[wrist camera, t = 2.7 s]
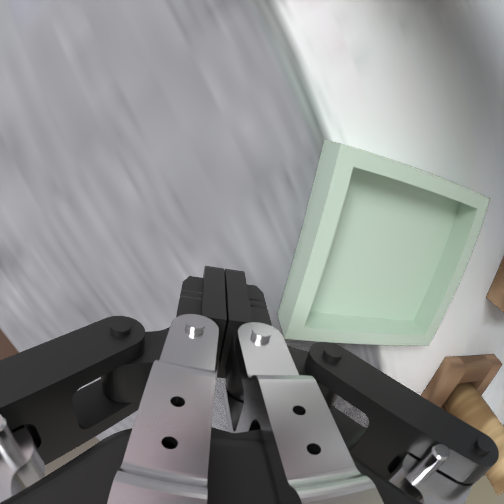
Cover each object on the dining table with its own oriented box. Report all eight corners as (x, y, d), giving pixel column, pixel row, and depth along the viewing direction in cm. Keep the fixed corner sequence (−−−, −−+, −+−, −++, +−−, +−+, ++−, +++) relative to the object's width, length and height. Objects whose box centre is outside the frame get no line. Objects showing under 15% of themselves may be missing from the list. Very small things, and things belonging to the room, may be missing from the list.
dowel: (449, 374, 28) (518, 476, 14) (471, 371, 29) (537, 463, 15) (431, 400, 30) (490, 500, 16) (454, 396, 30) (511, 487, 16)
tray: (324, 139, 18) (340, 143, 15) (466, 188, 20) (490, 198, 17) (277, 314, 22) (284, 338, 20) (412, 325, 24) (428, 345, 22)
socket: (445, 356, 27) (454, 369, 25) (493, 353, 28) (502, 364, 26) (405, 417, 30) (412, 429, 28) (456, 408, 32) (463, 419, 30)
